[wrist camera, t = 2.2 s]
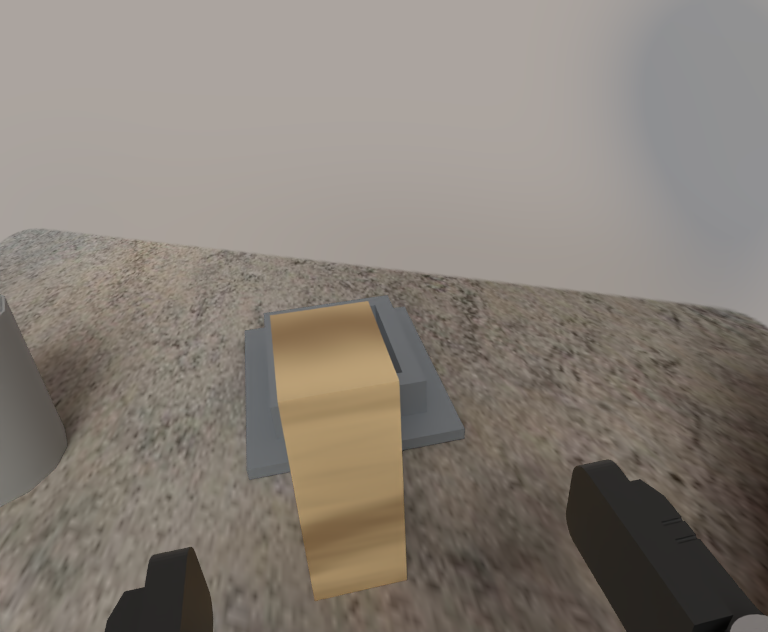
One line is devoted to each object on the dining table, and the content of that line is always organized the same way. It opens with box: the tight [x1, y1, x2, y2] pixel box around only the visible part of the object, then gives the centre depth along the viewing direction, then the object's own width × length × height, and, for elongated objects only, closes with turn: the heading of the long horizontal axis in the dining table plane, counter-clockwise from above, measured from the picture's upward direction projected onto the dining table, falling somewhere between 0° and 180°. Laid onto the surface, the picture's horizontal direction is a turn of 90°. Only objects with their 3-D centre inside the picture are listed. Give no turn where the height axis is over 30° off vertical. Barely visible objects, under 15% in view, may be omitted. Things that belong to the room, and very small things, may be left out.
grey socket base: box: [245, 295, 465, 480], centre depth 39 cm, size 15×13×3 cm
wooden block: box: [270, 301, 407, 601], centre depth 26 cm, size 6×4×12 cm
